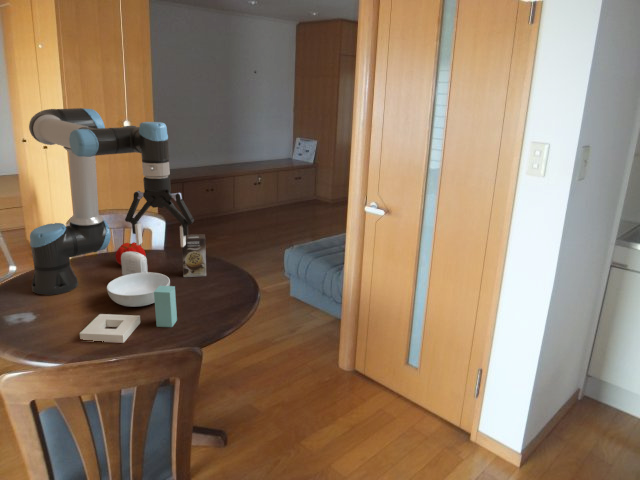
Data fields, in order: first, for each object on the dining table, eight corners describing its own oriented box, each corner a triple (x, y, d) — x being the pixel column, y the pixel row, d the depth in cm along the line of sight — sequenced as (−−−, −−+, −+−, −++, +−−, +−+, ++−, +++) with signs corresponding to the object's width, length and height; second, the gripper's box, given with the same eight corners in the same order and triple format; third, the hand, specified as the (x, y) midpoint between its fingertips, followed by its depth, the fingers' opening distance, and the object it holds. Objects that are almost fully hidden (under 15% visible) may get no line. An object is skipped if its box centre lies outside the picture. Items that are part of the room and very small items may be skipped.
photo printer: (150, 282, 190) (148, 252, 187) (142, 286, 186) (140, 255, 183) (128, 278, 194) (126, 248, 190) (121, 282, 190) (118, 251, 186)
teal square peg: (156, 326, 157) (153, 291, 153) (161, 319, 161) (159, 285, 158) (172, 327, 156) (169, 292, 153) (177, 320, 161) (174, 286, 158)
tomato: (118, 261, 211) (116, 241, 208) (147, 260, 214) (146, 240, 211) (114, 270, 201) (112, 249, 198) (145, 268, 204) (143, 248, 201)
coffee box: (183, 277, 196) (181, 239, 191) (183, 271, 202) (181, 234, 197) (206, 276, 198) (205, 238, 193) (206, 270, 204) (204, 233, 199)
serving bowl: (126, 287, 185) (124, 270, 183) (179, 291, 184) (178, 274, 181) (96, 311, 166) (94, 292, 164) (156, 316, 164) (154, 297, 162)
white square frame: (80, 340, 147) (79, 333, 146) (100, 320, 159) (99, 313, 158) (123, 342, 146) (122, 335, 145) (140, 322, 159) (139, 315, 158)
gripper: (109, 176, 141) (116, 246, 148) (195, 180, 141) (198, 250, 147) (120, 172, 148) (126, 239, 155) (202, 175, 148) (205, 242, 154)
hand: (161, 244), depth 151 cm, fingers open, 13 cm apart
